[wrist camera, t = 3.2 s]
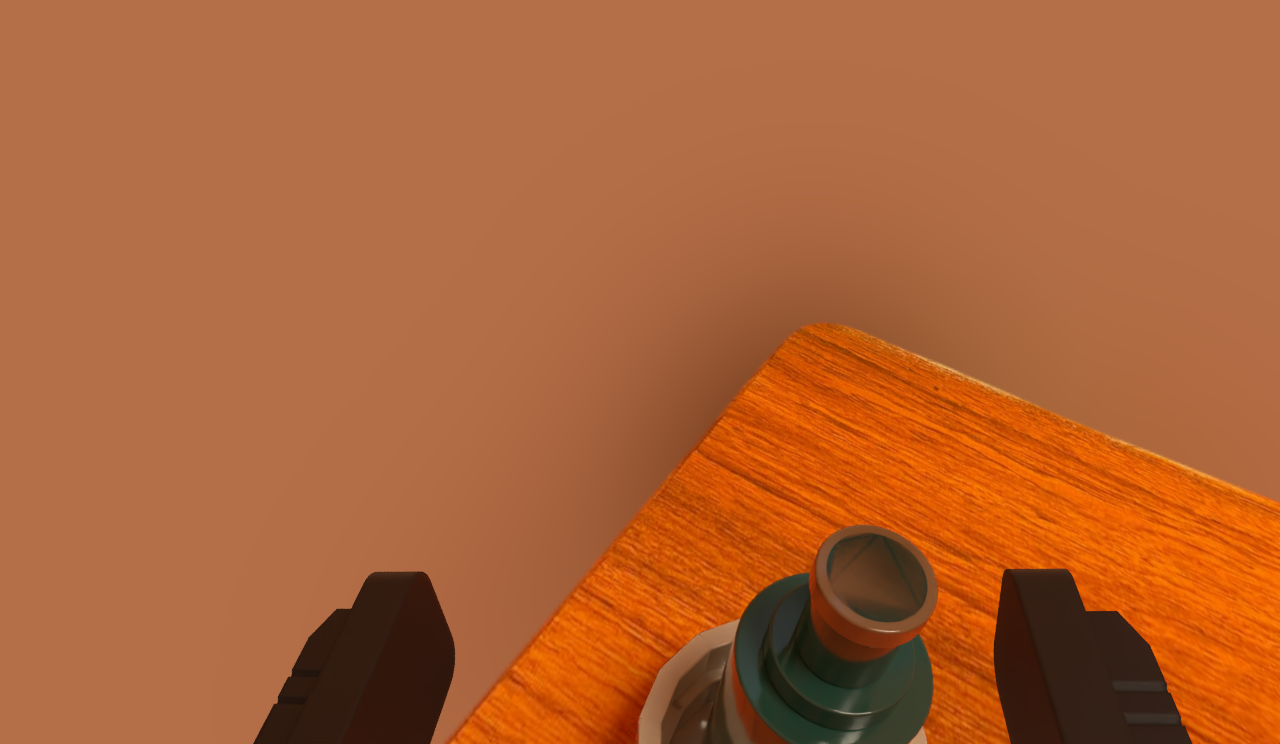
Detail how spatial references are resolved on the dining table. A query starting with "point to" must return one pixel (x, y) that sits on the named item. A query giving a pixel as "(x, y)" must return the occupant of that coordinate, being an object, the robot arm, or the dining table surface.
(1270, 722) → the dining table surface
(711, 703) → the bowl
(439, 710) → the robot arm
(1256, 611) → the dining table surface
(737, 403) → the dining table surface
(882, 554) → the bottle
